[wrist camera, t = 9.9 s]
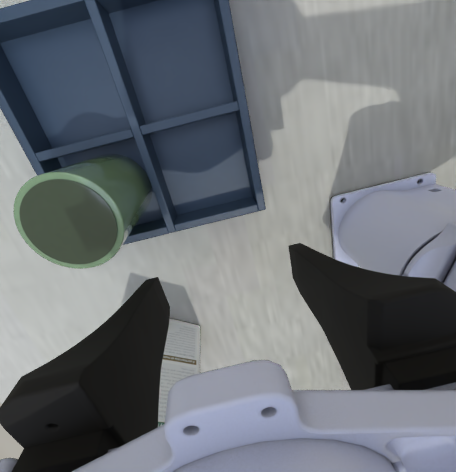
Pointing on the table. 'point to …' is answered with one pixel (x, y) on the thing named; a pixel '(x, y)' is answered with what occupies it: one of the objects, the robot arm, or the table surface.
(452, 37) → the table surface
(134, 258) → the table surface
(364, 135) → the table surface
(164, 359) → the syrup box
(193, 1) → the cup rack
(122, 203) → the sage cup
